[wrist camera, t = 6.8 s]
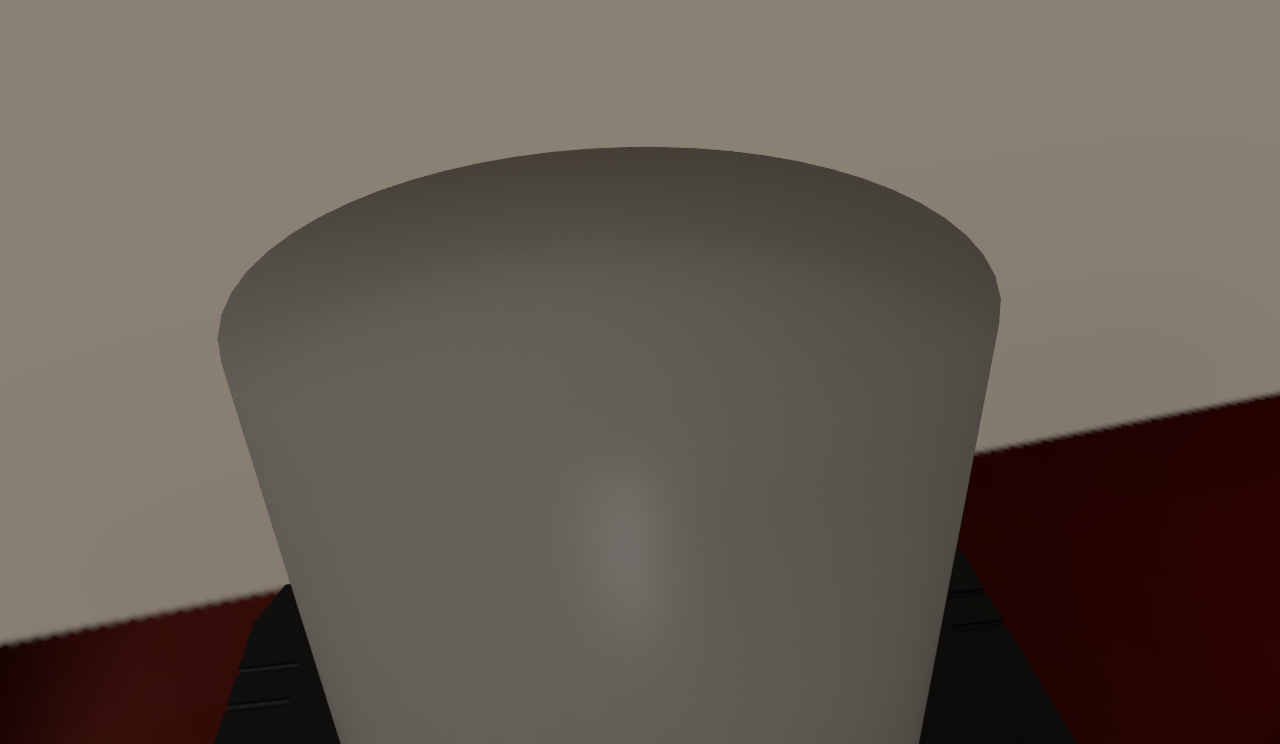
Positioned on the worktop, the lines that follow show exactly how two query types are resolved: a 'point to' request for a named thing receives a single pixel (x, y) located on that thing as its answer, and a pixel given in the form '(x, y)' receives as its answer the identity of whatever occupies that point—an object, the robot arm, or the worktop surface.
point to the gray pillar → (618, 448)
